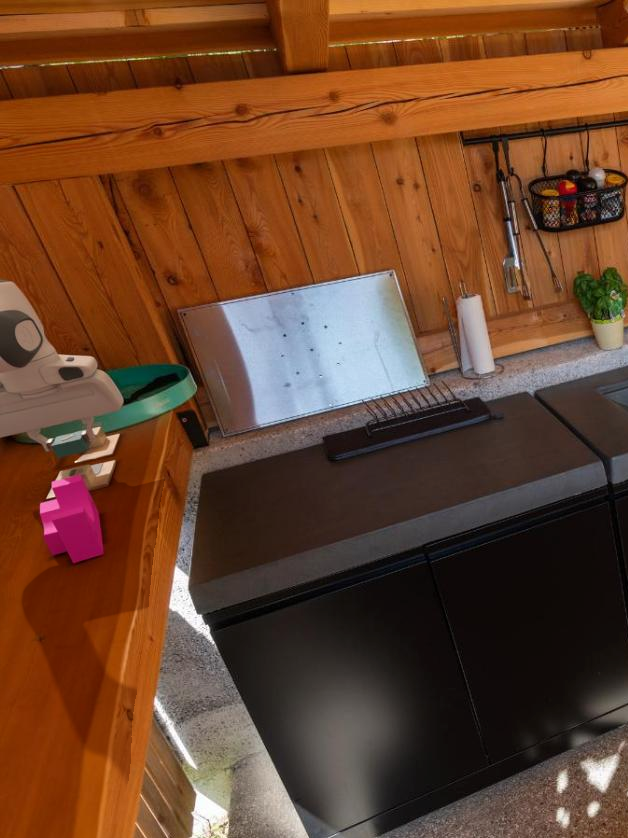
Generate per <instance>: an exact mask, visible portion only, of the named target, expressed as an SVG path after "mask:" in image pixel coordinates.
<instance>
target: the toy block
mask: <svg viewBox="0 0 628 838" xmlns="http://www.w3.org/2000/svg"><path fill="white" fill-rule="evenodd" d="M51 488H52V490H53V492H54V494H55V497H56V498H54V499H50V500H47V501H44V502H40V503H39V515H40V518H41V522H42V526H43V535H42V539H43V540H44V542H45V544H46V546H47V548H48V550H49V552H50V554H51V556H56V555H59V554H62V553H67V554H68V555H69V557H70V558H69V559H70V560H71V562H72V564H76V563H79V562H82V561H85V560H89V559H92V558H96V557H99V556H102V555H104V554H105V552H104V543H103V535H102V528H101V521H100V514H99V511H98V508H97V506H96V503H95V502H94V500H93V497H92V496H91V493H90V491H88V489H87V487H86V485H85V482H84V480H83V478H82V476H81V475H77V476H73V477H69V478H65V479H61V480H57V481H55V480H53V481H51Z"/></svg>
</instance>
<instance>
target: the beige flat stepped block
mask: <svg viewBox="0 0 628 838" xmlns="http://www.w3.org/2000/svg"><path fill="white" fill-rule="evenodd" d="M84 430H85V431H86V429H84ZM84 430H82V431H84ZM92 431H93V433H94V435H95V437H96V439H95V441H91V444H90V446H89V448H88V450H87V451H86V452H84V453H83V454H82V455H81V456H80V457H78V459H77V460H75V461H74V462H73V463H81V462H84V461H91V460H95V459H100V458H105V457H106V458H107V457H110V456H114V454H115V451H116V448H117V445H118V442H119V439H120V436H121V433H116V434H112V435H108V436H107V435H106V433H105V431H104V429H103V428H102V426H96V427H93V428H92Z"/></svg>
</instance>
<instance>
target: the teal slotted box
mask: <svg viewBox="0 0 628 838" xmlns="http://www.w3.org/2000/svg"><path fill="white" fill-rule="evenodd" d="M85 430H86V429H84V431H85ZM82 431H83V430H79V431H75V432H72V433H67V434H63V435H59V436H56V437H55V438H54V441H53V443H52V444H51V448H52V450H53V453H54V455H55V457H56V458H57V459H61V458H65V457H68V456H73V455H77V454H81V453H86V452H87V451H88V450H89V449H90V448H89V446H90V444H91V442H85V441H84V439H83V438H82V436H81V433H82ZM88 448H89V449H88Z"/></svg>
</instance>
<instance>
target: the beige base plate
mask: <svg viewBox="0 0 628 838" xmlns="http://www.w3.org/2000/svg"><path fill="white" fill-rule="evenodd" d="M116 465H117V460H116V459H114V460H109V461H105V462H99V463H96V464H92V465H91V464H85V465H80V466H77V467H72V468H68V469H64V470H60V471H59V473H58V475H57V477H56V478H55V480H54V481H57V480H61V479H65V478H69V477H73V476H77V475H81V476H82V478H83V480H84V482H85V485H86V487H87V489H88V491H89V492H91V491H94V490H99V489H103V488H106V487H109V485H110V482H111V479H112V476H113V474H114V471H115V467H116ZM53 499H56V497H55V494H54V492H53V490H52V487H50V490H49V491H48V494H47V496H46V498H45V500H47V501H48V500H53Z"/></svg>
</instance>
